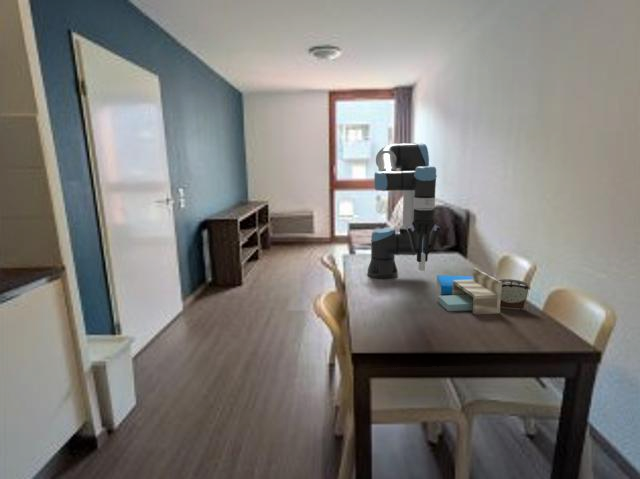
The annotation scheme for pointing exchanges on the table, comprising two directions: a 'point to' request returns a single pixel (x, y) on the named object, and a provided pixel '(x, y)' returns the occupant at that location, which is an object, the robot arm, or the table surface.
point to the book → (448, 282)
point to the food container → (513, 294)
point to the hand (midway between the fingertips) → (421, 269)
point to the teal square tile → (456, 302)
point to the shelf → (480, 292)
